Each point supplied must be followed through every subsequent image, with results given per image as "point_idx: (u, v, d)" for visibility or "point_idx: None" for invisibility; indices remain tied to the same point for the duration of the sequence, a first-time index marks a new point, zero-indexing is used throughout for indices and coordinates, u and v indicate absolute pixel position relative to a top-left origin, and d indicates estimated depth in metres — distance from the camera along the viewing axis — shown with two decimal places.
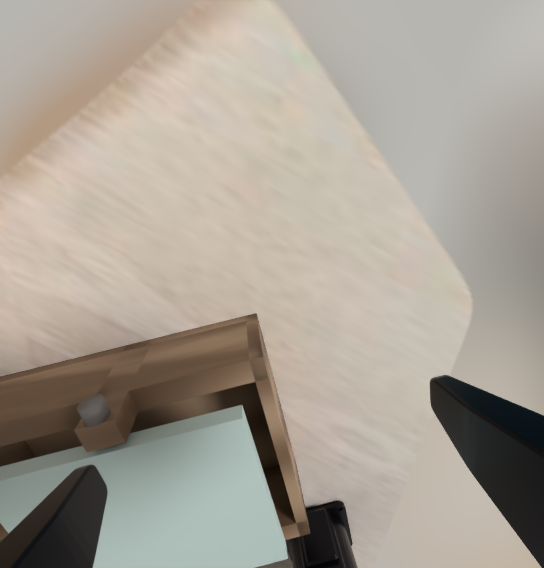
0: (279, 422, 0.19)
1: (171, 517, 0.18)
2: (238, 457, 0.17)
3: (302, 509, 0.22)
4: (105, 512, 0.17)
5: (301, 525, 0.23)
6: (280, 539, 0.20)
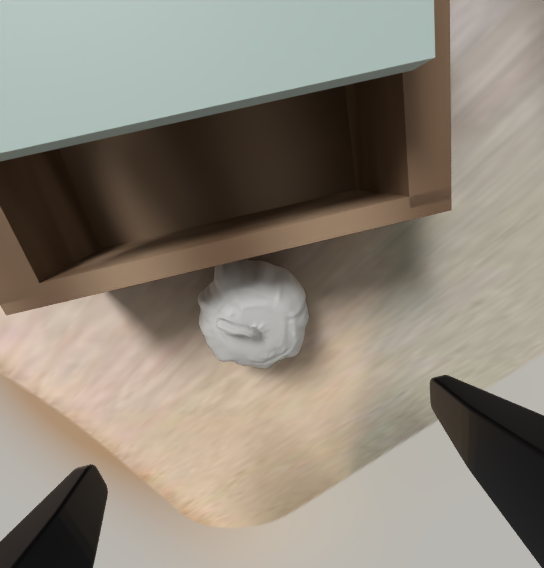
0: None
1: None
2: None
3: None
4: None
5: None
6: None
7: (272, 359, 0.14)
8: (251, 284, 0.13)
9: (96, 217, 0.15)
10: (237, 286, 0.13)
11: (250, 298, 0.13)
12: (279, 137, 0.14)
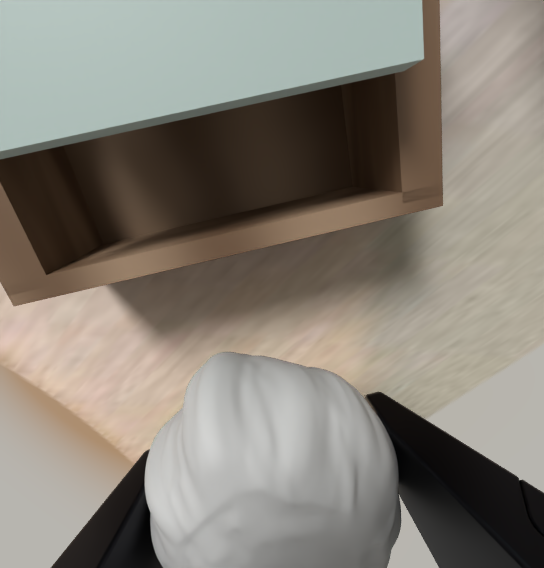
0: None
1: None
2: None
3: None
4: None
5: None
6: None
7: None
8: (278, 471, 0.05)
9: (99, 213, 0.15)
10: (239, 480, 0.05)
11: (274, 515, 0.05)
12: (277, 136, 0.15)
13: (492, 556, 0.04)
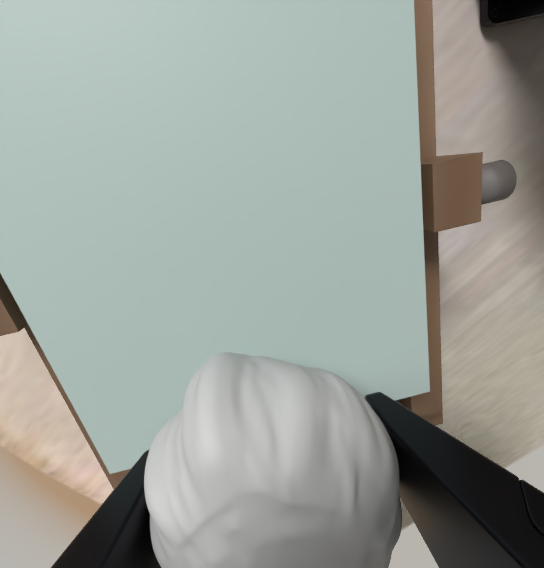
0: None
1: (197, 204, 0.09)
2: None
3: None
4: (172, 320, 0.10)
5: None
6: None
7: None
8: (278, 473, 0.05)
9: None
10: (239, 482, 0.05)
11: (275, 517, 0.05)
12: None
13: (492, 556, 0.04)
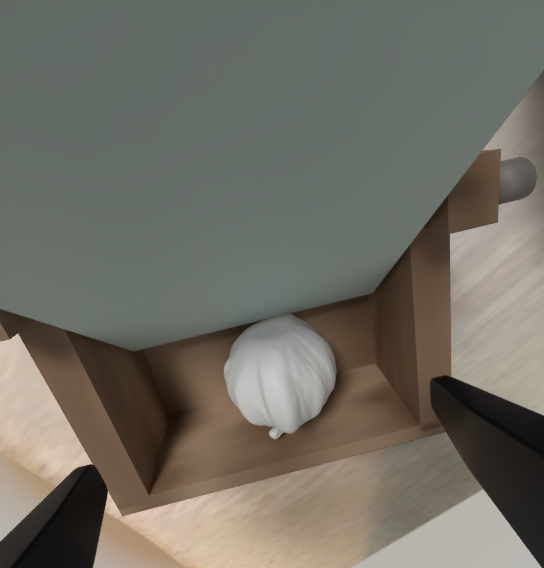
0: None
1: (204, 243, 0.08)
2: None
3: None
4: (178, 299, 0.10)
5: None
6: None
7: None
8: None
9: (169, 394, 0.18)
10: None
11: None
12: None
13: None
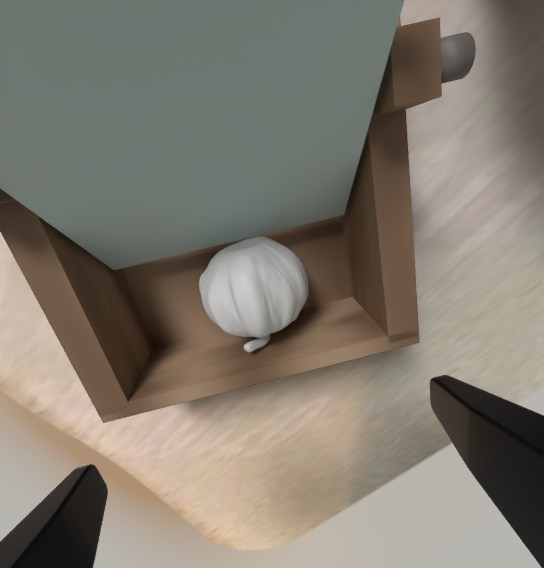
0: None
1: (156, 94, 0.08)
2: None
3: None
4: (145, 186, 0.11)
5: None
6: None
7: None
8: (279, 328, 0.15)
9: (152, 325, 0.19)
10: (268, 334, 0.14)
11: None
12: None
13: None
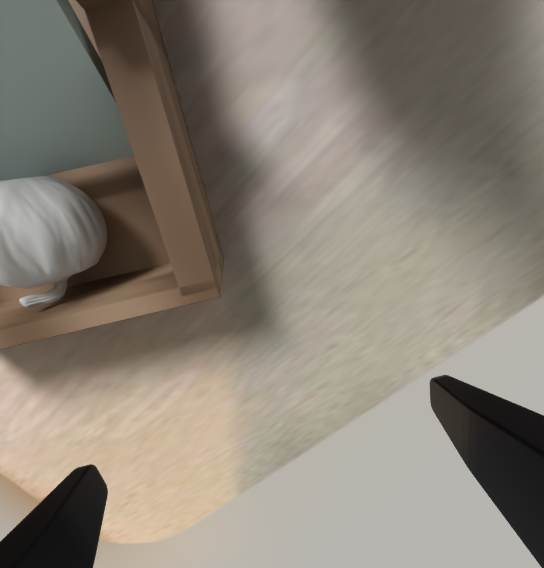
0: None
1: None
2: None
3: None
4: None
5: None
6: None
7: None
8: (46, 276, 0.13)
9: None
10: (29, 282, 0.12)
11: (49, 281, 0.13)
12: (116, 217, 0.17)
13: None
